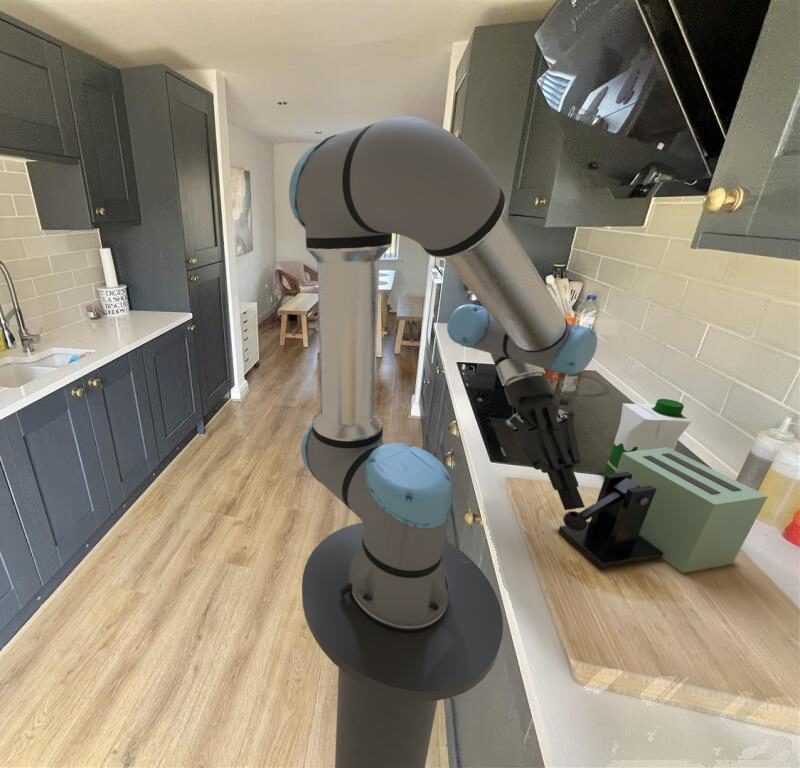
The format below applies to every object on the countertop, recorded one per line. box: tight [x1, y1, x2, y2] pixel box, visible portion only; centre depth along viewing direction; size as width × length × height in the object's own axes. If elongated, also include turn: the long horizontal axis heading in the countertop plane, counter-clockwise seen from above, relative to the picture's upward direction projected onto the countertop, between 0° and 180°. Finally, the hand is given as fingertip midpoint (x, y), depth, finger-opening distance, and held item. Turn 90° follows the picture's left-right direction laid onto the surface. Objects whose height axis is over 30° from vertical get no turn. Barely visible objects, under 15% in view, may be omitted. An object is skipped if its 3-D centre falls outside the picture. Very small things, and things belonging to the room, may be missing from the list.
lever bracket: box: [558, 472, 664, 571], centre depth 69 cm, size 12×9×14 cm
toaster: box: [616, 447, 769, 574], centre depth 70 cm, size 10×15×14 cm, turn 10°
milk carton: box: [602, 398, 692, 477], centre depth 83 cm, size 9×9×20 cm
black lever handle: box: [563, 478, 640, 531], centre depth 67 cm, size 13×3×3 cm
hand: (574, 508), depth 67 cm, fingers closed
